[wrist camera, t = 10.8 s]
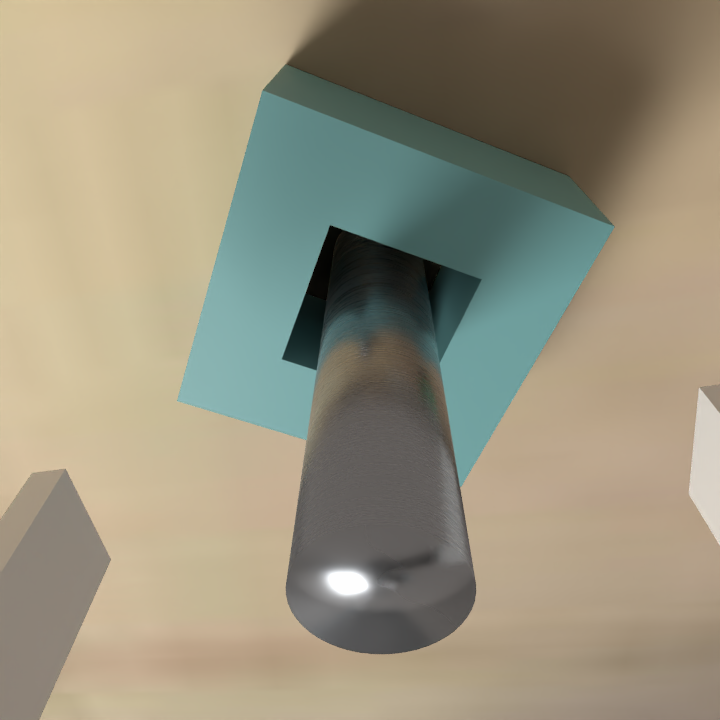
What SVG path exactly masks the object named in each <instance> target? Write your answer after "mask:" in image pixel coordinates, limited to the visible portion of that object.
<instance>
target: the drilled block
mask: <svg viewBox="0 0 720 720" xmlns="http://www.w3.org/2000/svg"><path fill="white" fill-rule="evenodd" d="M330 225H331V226H334V227H337V228H340V229H343V230H345V231H348V232H351V233H354V234H357V235H359V236H362V237H365V238H368V239H370V240H373V241H376V242H379V243H382V244H384V245H387V246H390V247H393V248H396V249H398V250H401V251H404V252H407V253H409V254H412V255H415V256H418V257H421V258H423V259H426V260H429V261H432V262H435V263H437V264H440V265H442V266H441V268H440V270H439V272H438V275H437V277H436V279H435V281H434V283H433V285H432V288H431V290H430V292H429V294H428V295H429V301H430V307H431V313H432V319H433V325H434V331H435V337H436V344H437V350H438V356H439V362H440V368H441V374H442V380H443V386H444V393H445V399H446V405H447V411H448V417H449V423H450V429H451V435H452V442H453V448H454V454H455V460H456V466H457V472H458V478H459V484H460V487H461V486H462V484H463V483H464V481H465V479H466V478H467V476H468V474H469V473H470V471H471V469H472V467H473V466H474V464H475V462H476V461H477V459H478V457H479V456H480V454H481V452H482V451H483V449H484V447H485V445H486V444H487V442H488V440H489V439H490V437H491V435H492V434H493V432H494V430H495V428H496V427H497V425H498V423H499V422H500V420H501V418H502V417H503V415H504V413H505V412H506V410H507V408H508V406H509V405H510V403H511V401H512V400H513V398H514V396H515V395H516V393H517V391H518V390H519V388H520V386H521V384H522V383H523V381H524V379H525V378H526V376H527V374H528V373H529V371H530V369H531V368H532V366H533V364H534V362H535V361H536V359H537V357H538V356H539V354H540V352H541V351H542V349H543V347H544V346H545V344H546V342H547V340H548V339H549V337H550V335H551V334H552V332H553V330H554V329H555V327H556V325H557V323H558V322H559V320H560V318H561V317H562V315H563V313H564V312H565V310H566V308H567V307H568V305H569V303H570V301H571V300H572V298H573V296H574V295H575V293H576V291H577V290H578V288H579V286H580V285H581V283H582V281H583V279H584V278H585V276H586V274H587V273H588V271H589V269H590V268H591V266H592V264H593V263H594V261H595V259H596V257H597V256H598V254H599V252H600V251H601V249H602V247H603V246H604V244H605V242H606V241H607V239H608V237H609V235H610V234H611V232H612V230H613V229H614V227H615V226H614V225H613V224H612V223H611V222H610V221H609V220H608V219H607V218H606V216H605V215H604V214H603V213H602V212H601V211H600V210H599V209H598V208H597V207H596V205H595V204H594V203H593V202H592V201H591V200H590V199H589V198H588V197H587V196H586V194H585V193H584V192H583V191H582V190H581V189H580V188H579V187H578V186H577V185H576V184H575V182H574V181H573V180H572V179H571V178H570V177H569V176H567V175H564V174H562V173H559V172H557V171H554V170H552V169H549V168H547V167H544V166H542V165H539V164H537V163H534V162H531V161H529V160H526V159H524V158H521V157H519V156H516V155H514V154H511V153H509V152H506V151H504V150H501V149H499V148H496V147H494V146H491V145H489V144H486V143H483V142H481V141H478V140H476V139H473V138H471V137H468V136H466V135H463V134H461V133H458V132H456V131H453V130H451V129H448V128H446V127H443V126H440V125H438V124H435V123H433V122H430V121H428V120H425V119H423V118H420V117H418V116H415V115H413V114H410V113H408V112H405V111H403V110H400V109H397V108H395V107H392V106H390V105H387V104H385V103H382V102H380V101H377V100H375V99H372V98H370V97H367V96H365V95H362V94H360V93H357V92H355V91H352V90H349V89H347V88H344V87H342V86H339V85H337V84H334V83H332V82H329V81H327V80H324V79H322V78H319V77H317V76H314V75H312V74H309V73H306V72H304V71H301V70H299V69H296V68H294V67H291V66H289V65H286V64H285V66H284V67H283V68H282V69H281V70H280V71H279V72H278V74H277V75H276V76H275V77H274V78H273V79H272V80H271V81H270V83H269V84H268V85H267V86H266V87H265V88H264V89H263V91H262V94H261V98H260V101H259V105H258V109H257V112H256V116H255V120H254V123H253V127H252V131H251V134H250V138H249V141H248V145H247V149H246V152H245V156H244V160H243V163H242V167H241V171H240V174H239V178H238V181H237V185H236V189H235V192H234V196H233V200H232V203H231V207H230V211H229V214H228V218H227V221H226V225H225V229H224V232H223V236H222V240H221V243H220V247H219V251H218V254H217V258H216V261H215V265H214V269H213V272H212V276H211V280H210V283H209V287H208V290H207V294H206V298H205V301H204V305H203V309H202V312H201V316H200V320H199V323H198V327H197V330H196V334H195V338H194V341H193V345H192V349H191V352H190V356H189V360H188V363H187V367H186V370H185V374H184V378H183V381H182V385H181V389H180V392H179V396H178V400H177V401H179V402H182V403H185V404H189V405H192V406H195V407H199V408H202V409H205V410H208V411H212V412H215V413H218V414H222V415H225V416H228V417H232V418H235V419H238V420H242V421H245V422H248V423H252V424H255V425H258V426H261V427H265V428H268V429H271V430H275V431H278V432H281V433H285V434H288V435H291V436H295V437H298V438H301V439H305V440H307V434H308V427H309V420H310V413H311V406H312V399H313V392H314V385H315V378H316V371H317V364H318V357H319V350H320V343H321V336H322V329H323V322H324V315H325V308H326V300H323V299H320V298H317V297H314V296H311V295H308V294H305V293H306V290H307V287H308V285H309V282H310V279H311V276H312V274H313V271H314V268H315V265H316V262H317V260H318V257H319V254H320V251H321V249H322V246H323V243H324V240H325V237H326V235H327V232H328V229H329V226H330Z"/></svg>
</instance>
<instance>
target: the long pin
mask: <svg viewBox="0 0 720 720" xmlns="http://www.w3.org/2000/svg"><path fill="white" fill-rule="evenodd" d="M286 596H287V600H288V604H289V606H290V609H291V611H292V613H293V614H294V616H295V617H296V619H297V620H298V621H299V622H300V623H301V624H302V626H303V627H305V628H306V629H307V630H308V631H309V632H310V633H312V634H313V635H315V636H316V637H318V638H320V639H321V640H323V641H325V642H327V643H329V644H332V645H334V646H337V647H340V648H343V649H346V650H350V651H355V652H360V653H369V654H395V653H402V652H408V651H412V650H417V649H420V648H423V647H426V646H429V645H431V644H433V643H436V642H438V641H440V640H441V639H443V638H445V637H447V636H448V635H449V634H451V633H452V632H454V631H455V630H456V629H457V628H458V627H459V626H460V625H461V624H462V623H463V622H464V620H465V619H466V618H467V617H468V615H469V613H470V611H471V610H472V607H473V604H474V602H475V596H476V582H475V576H474V570H473V564H472V558H471V552H470V546H469V539H468V533H467V527H466V521H465V515H464V509H463V503H462V497H461V490H460V484H459V478H458V472H457V466H456V460H455V454H454V448H453V442H452V435H451V429H450V423H449V417H448V411H447V405H446V399H445V393H444V386H443V380H442V374H441V368H440V362H439V356H438V350H437V344H436V337H435V331H434V325H433V319H432V313H431V307H430V301H429V295H428V288H427V282H426V276H425V270H424V264H423V258H421V257H418V256H415V255H412V254H409V253H407V252H404V251H401V250H398V249H396V248H393V247H390V246H387V245H384V244H382V243H379V242H376V241H373V240H370V239H368V238H365V237H362V236H359V235H357V234H354V233H351V232H348V231H345V230H343V231H342V232H341V233H340V235H339V236H338V238H337V240H336V243H335V246H334V252H333V259H332V266H331V273H330V280H329V287H328V294H327V301H326V308H325V315H324V322H323V329H322V336H321V343H320V350H319V357H318V364H317V371H316V378H315V385H314V392H313V399H312V406H311V413H310V420H309V427H308V434H307V441H306V448H305V455H304V462H303V469H302V477H301V484H300V491H299V498H298V505H297V512H296V519H295V526H294V533H293V540H292V547H291V554H290V561H289V568H288V575H287V582H286Z"/></svg>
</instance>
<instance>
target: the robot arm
mask: <svg viewBox="0 0 720 720" xmlns="http://www.w3.org/2000/svg"><path fill="white" fill-rule="evenodd" d="M689 495H690V497H691V499H692V500H693V502H694V503H695V505H696V507H697V508H698V510H699V512H700V513H701V515H702V517H703V518H704V520H705V522H706V523H707V525H708V527H709V528H710V530H711V532H712V533H713V535H714V537H715V538H716V540H717V542H718V543H719V545H720V385H712V386H704V387H699V394H698V404H697V414H696V424H695V435H694V445H693V455H692V465H691V476H690V486H689ZM110 560H111V559H110V557H109V555H108V553H107V551H106V549H105V547H104V545H103V543H102V541H101V539H100V537H99V535H98V533H97V531H96V529H95V527H94V525H93V523H92V521H91V519H90V517H89V515H88V513H87V511H86V509H85V507H84V505H83V503H82V501H81V499H80V497H79V495H78V493H77V491H76V489H75V487H74V485H73V483H72V481H71V479H70V477H69V475H68V473H67V471H66V469H61V470H53V471H45V472H37V473H32V474H31V476H30V477H29V478H28V480H27V481H26V483H25V484H24V486H23V487H22V489H21V490H20V492H19V493H18V495H17V496H16V498H15V499H14V500H13V502H12V503H11V505H10V506H9V508H8V509H7V511H6V512H5V514H4V515H3V517H2V518H1V519H0V720H39V719H40V717H41V714H42V712H43V710H44V708H45V706H46V703H47V701H48V699H49V697H50V694H51V692H52V690H53V688H54V685H55V683H56V681H57V679H58V677H59V674H60V672H61V670H62V668H63V665H64V663H65V661H66V659H67V656H68V654H69V652H70V650H71V648H72V645H73V643H74V641H75V639H76V636H77V634H78V632H79V630H80V627H81V625H82V623H83V621H84V619H85V616H86V614H87V612H88V610H89V607H90V605H91V603H92V601H93V598H94V596H95V594H96V592H97V590H98V587H99V585H100V583H101V581H102V578H103V576H104V574H105V572H106V569H107V567H108V565H109V563H110Z"/></svg>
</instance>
